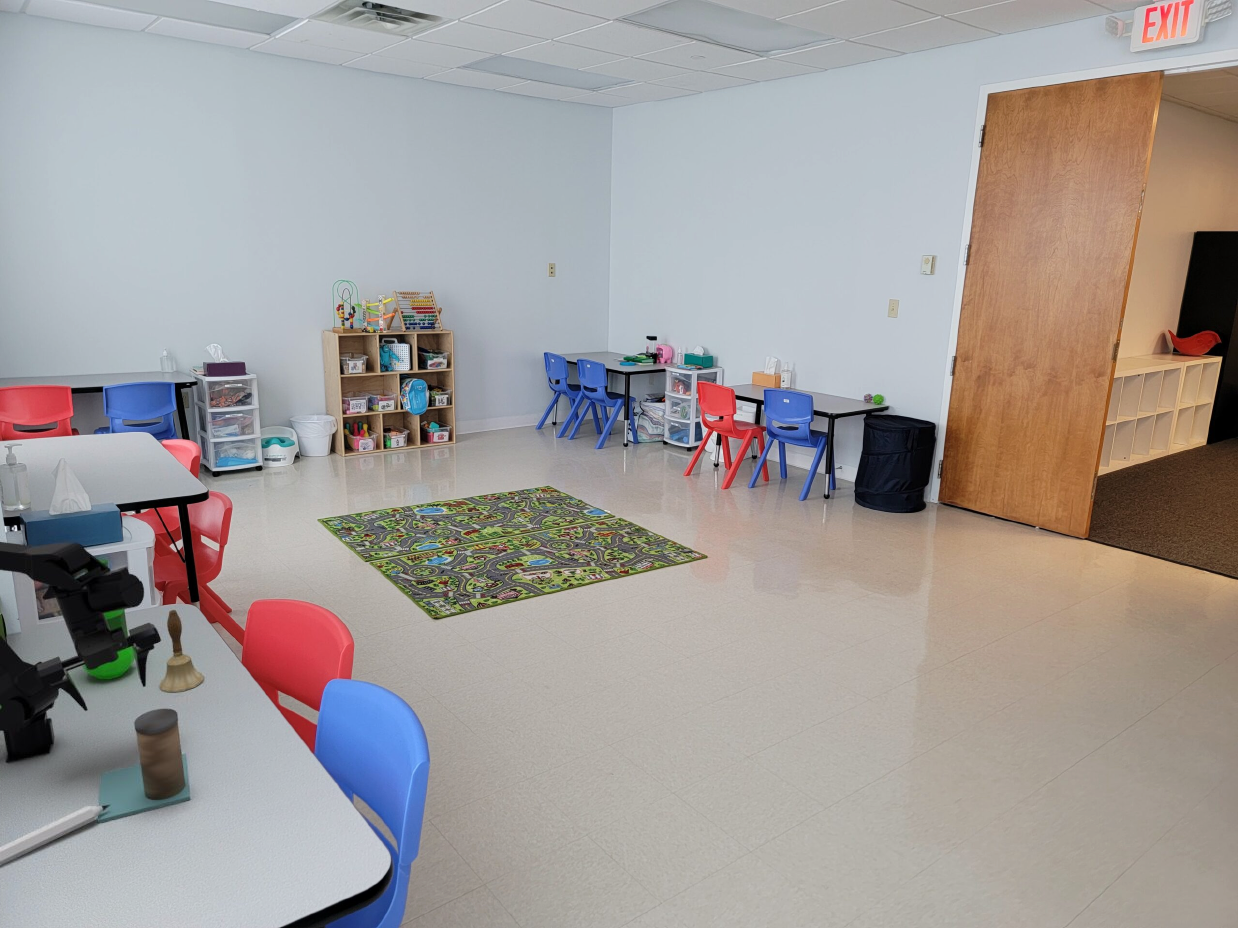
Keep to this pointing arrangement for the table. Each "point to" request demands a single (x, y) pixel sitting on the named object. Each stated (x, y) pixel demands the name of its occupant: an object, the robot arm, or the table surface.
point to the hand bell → (179, 662)
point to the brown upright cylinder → (160, 753)
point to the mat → (132, 793)
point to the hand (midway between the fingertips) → (115, 697)
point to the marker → (49, 833)
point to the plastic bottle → (125, 655)
